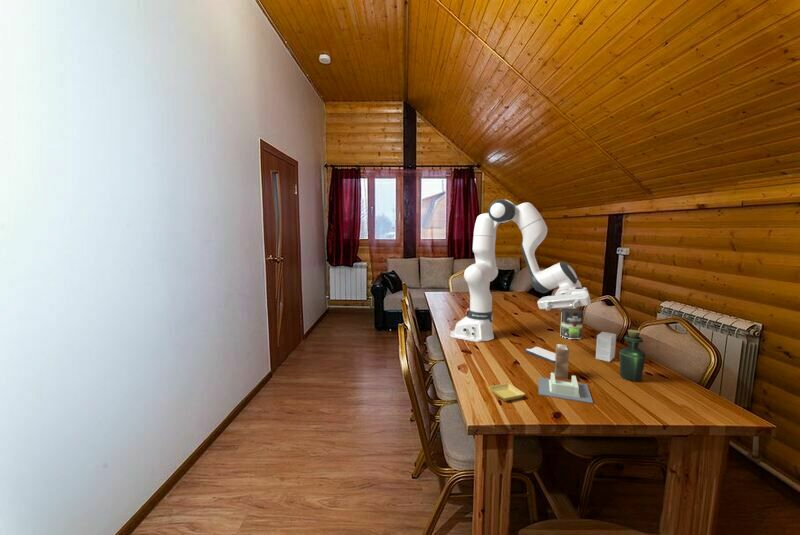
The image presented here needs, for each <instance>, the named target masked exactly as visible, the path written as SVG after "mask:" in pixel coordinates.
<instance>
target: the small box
mask: <svg viewBox="0 0 800 535" xmlns="http://www.w3.org/2000/svg"><path fill="white" fill-rule="evenodd" d="M616 342H617V333H612V332H606V331H601V332H599V333H598V334H596V344H595V345H596V348H595V359H597V360H600V361H604V362H611V361H612V360H613V359H615V355H616Z"/></svg>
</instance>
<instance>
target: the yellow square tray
mask: <svg viewBox="0 0 800 535" xmlns="http://www.w3.org/2000/svg"><path fill="white" fill-rule="evenodd" d="M488 389H490V391H491V393H493V394H494V395H495V396H496V397H498V398H500V399H501V400H502V401H504V402H507V401H513V400H516V399H521V398H523V397H524V396H525V395H526V393H525V391H524V392H523V391H522V390H520V389H518V388H517V387H516V386H514V385H513V384H511V383H508V382H507V383H500V384H496V385H495V384H494V385H489V386H488Z"/></svg>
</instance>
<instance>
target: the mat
mask: <svg viewBox="0 0 800 535" xmlns="http://www.w3.org/2000/svg"><path fill="white" fill-rule="evenodd" d="M537 380H538V395H539V396H544V397H551V398H556V399H562V400H569V401H575V402H578V403H579V402H580V403H586V404H594V401H593V398H592V395H591V393H590V389H589V386H588V384H587V383H581V382H577V383H578V387H579V394H580V398H578V397H572V396H566V395H560V394H554V393H550V389H549V380H550V378H547V377H539V376H538V379H537ZM555 381H562V382H569V383H571V381H568V380H567V381H566V380H559V379H555Z"/></svg>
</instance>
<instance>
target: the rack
mask: <svg viewBox="0 0 800 535" xmlns="http://www.w3.org/2000/svg"><path fill="white" fill-rule="evenodd" d="M549 379H550V380H549V389H550V393H554V394H560V395H566V396H572V397H578V398H580V394H579V387H578V383H579V382H578V379H577V376H576V375H571V380H570V381H568V382H562V381H563V380H561V381H555V380H556V377H555V372H553V371H552V372H550V378H549ZM569 382H571V383H569Z"/></svg>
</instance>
